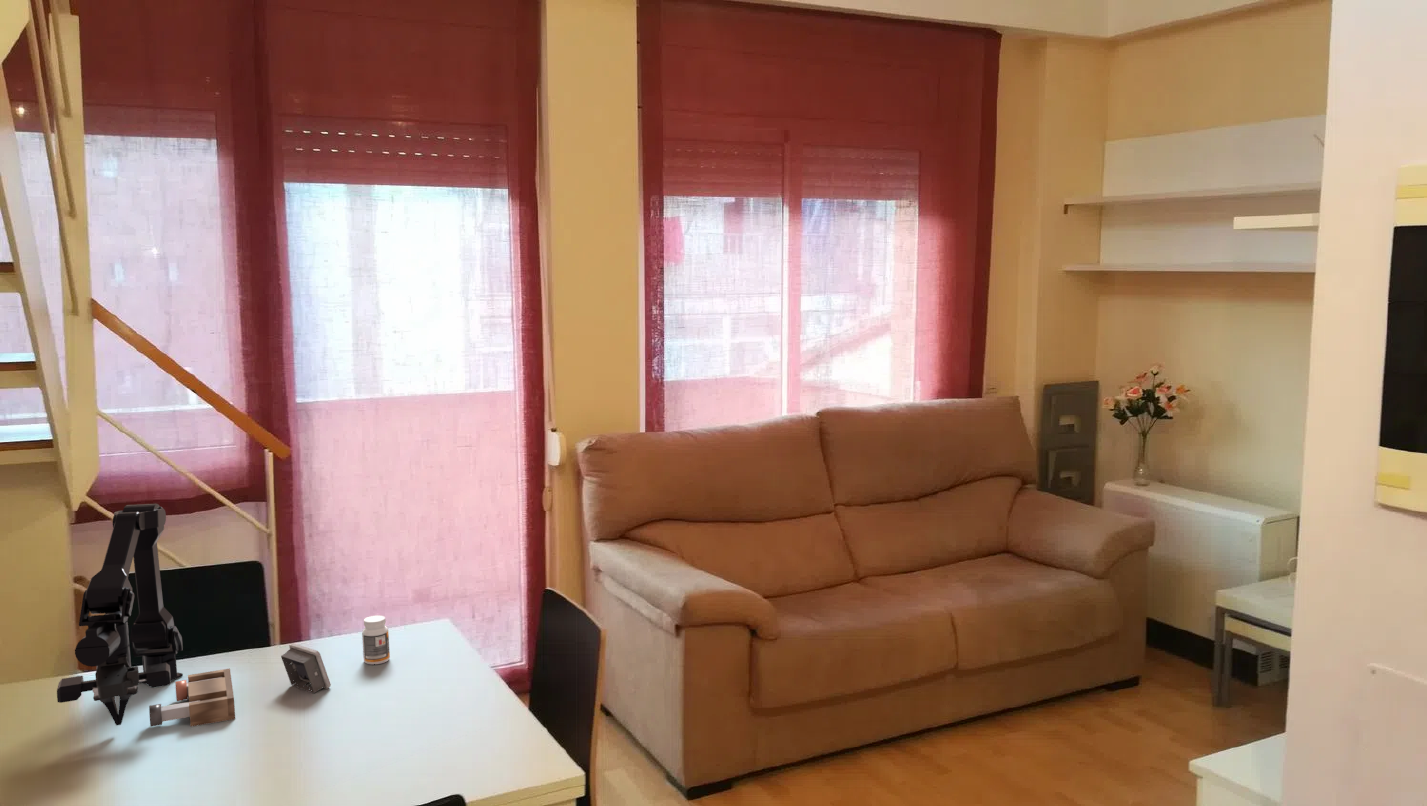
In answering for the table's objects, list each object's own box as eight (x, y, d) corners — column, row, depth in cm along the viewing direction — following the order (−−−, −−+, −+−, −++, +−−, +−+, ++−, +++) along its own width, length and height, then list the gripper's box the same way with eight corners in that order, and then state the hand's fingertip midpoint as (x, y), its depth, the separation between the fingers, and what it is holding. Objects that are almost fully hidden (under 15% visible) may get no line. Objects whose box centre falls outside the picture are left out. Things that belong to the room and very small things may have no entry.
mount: (190, 726, 208) (189, 705, 207) (189, 695, 223) (188, 675, 222) (235, 718, 211) (233, 697, 211) (231, 688, 226) (229, 668, 226)
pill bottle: (394, 660, 242) (392, 618, 240) (371, 667, 237) (369, 624, 236) (381, 654, 245) (379, 612, 244) (358, 661, 241) (356, 618, 240)
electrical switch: (332, 688, 226) (326, 648, 224) (311, 699, 222) (305, 658, 220) (304, 679, 231) (298, 639, 229) (283, 689, 227) (277, 649, 225)
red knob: (176, 704, 217) (175, 685, 217) (176, 697, 221) (175, 678, 220) (224, 696, 221) (222, 677, 220) (223, 689, 225) (222, 671, 224)
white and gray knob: (150, 730, 205) (149, 710, 205) (151, 722, 209) (149, 702, 208) (201, 721, 209) (199, 701, 209) (200, 713, 213) (199, 694, 212)
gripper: (50, 670, 191) (58, 752, 193) (167, 652, 199) (173, 731, 202) (56, 649, 201) (63, 728, 203) (167, 633, 209) (173, 709, 211)
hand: (118, 724), depth 204 cm, fingers closed
